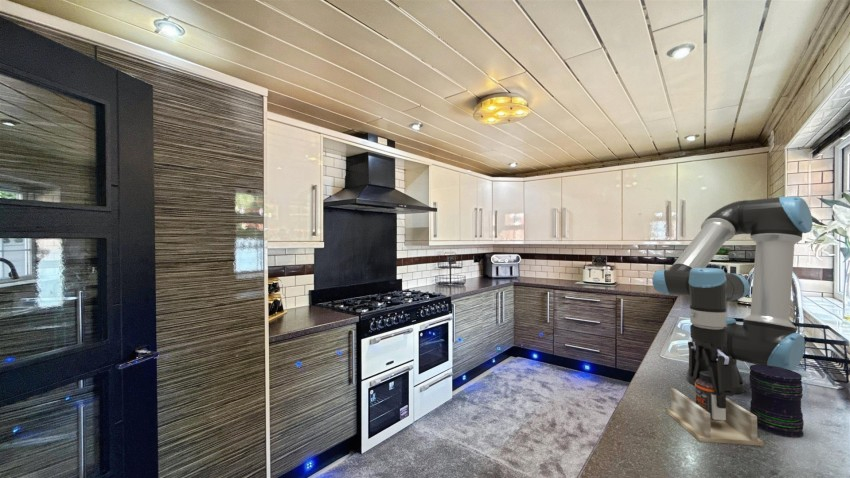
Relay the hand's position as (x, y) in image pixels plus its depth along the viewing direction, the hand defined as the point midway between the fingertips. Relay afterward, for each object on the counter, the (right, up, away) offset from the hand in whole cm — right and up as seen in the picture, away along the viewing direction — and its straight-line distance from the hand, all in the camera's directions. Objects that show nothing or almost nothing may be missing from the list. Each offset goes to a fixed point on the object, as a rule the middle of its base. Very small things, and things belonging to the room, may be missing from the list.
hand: (709, 412), depth 90 cm
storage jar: (+17, -4, -1) cm, 17 cm away
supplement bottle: (0, -1, 0) cm, 1 cm away
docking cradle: (0, -4, 0) cm, 4 cm away
